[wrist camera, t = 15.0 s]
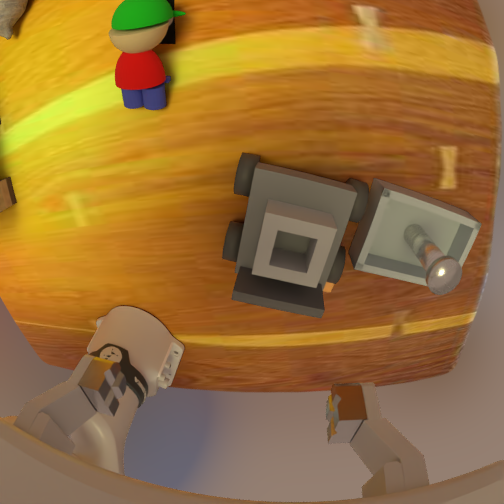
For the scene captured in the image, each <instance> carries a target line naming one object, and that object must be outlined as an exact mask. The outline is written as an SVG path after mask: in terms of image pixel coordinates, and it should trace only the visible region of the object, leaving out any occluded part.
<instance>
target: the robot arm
mask: <svg viewBox="0 0 504 504" xmlns="http://www.w3.org/2000/svg"><path fill="white" fill-rule="evenodd" d="M96 325H97V328H98V329H97V330H96V332H95V334H94V336H93V338H92V340H91V341H90V343H89V345H88V347H87V351H88V354H86V355H84V356H83V357H82V359H81V360H80V362H79V364H78V365H77V367H76V368H75V370H74V372H73V373H72V375H71V376H70V378H69V380H68V381H67V382H66V381H64V382H62V383H60V384H59V385H57V386H55V387H53V388H52V389H50V390H48V391H46V392H45V393H43V394H41V395H39V396H38V397H36V398H34V399H33V400H31V401H29V402H27V403H26V404H25V405H24V407H23V409H22V410H21V412H20V414H19V415H18V416H8V417H4V418H1V417H0V504H504V460H500V461H497V462H495V463H492V464H490V465H487V466H485V467H482V468H480V469H477V470H474V471H472V472H469V473H466V474H463V475H460V476H457V477H454V478H451V479H448V480H445V481H442V482H438V483H434V484H431V485H429V479H428V474H427V469H426V464H425V459H424V455H423V454H422V453H421V452H420V451H419V450H418V449H417V448H416V447H414V446H413V445H412V444H411V443H410V442H409V441H408V440H407V439H406V438H405V437H404V436H403V435H402V434H401V433H400V432H399V431H398V430H397V429H396V428H395V427H394V426H393V425H392V424H391V423H390V422H389V421H388V420H387V419H386V418H382V416H381V411H380V407H379V402H378V397H377V393H376V388H375V385H374V383H372V382H371V383H344V384H333V385H332V388H331V395H330V396H329V397H328V400H327V405H326V419H327V420H328V421H329V422H330V423H329V426H328V428H327V435H328V444H332V443H350V445H351V447H352V448H353V449H354V451H355V452H356V453H357V455H358V456H359V457H360V459H361V460H362V461H363V462H364V464H365V465H366V466H367V468H368V469H369V470H370V472H371V473H372V474H373V477H372V478H371V479H370V480H368V481H367V483H365V484H364V485H363V486H362V495H363V498H358V499H348V500H339V501H323V502H266V501H265V502H264V501H250V500H240V499H239V500H238V499H230V498H222V497H214V496H208V495H202V494H196V493H191V492H186V491H181V490H176V489H172V488H167V487H163V486H159V485H155V484H151V483H147V482H144V481H140V480H137V479H133V478H130V477H127V476H125V474H124V463H123V457H124V446H125V440H126V437H127V434H128V431H129V428H130V425H131V423H132V420H133V418H134V415H135V412H136V410H137V408H139V407H140V406H141V404H143V402H144V401H145V398H146V397H152V396H155V395H156V393H157V391H158V389H159V386H160V387H162V388H164V389H167V386H170V385H171V384H172V382H173V379H174V376H175V374H176V371H177V368H178V365H179V363H180V360H181V357H182V355H183V352H184V349H185V347H184V345H183V344H182V343H181V342H179V341H178V340H177V339H175V338H174V337H173V336H172V335H171V334H170V333H169V331H168V330H167V329H166V327H165V326H164V325H163V324H162V323H161V322H160V321H159V320H158V319H156V318H155V317H154V316H152V315H150V314H149V313H147V312H145V311H143V310H141V309H138V308H134V307H130V306H119V307H116V308H113V309H112V310H111V311H110V312H109V313H108V314H107V315H106V316H103V317H100V318H98V320H97V321H96ZM69 435H71V440H72V441H71V440H70V439H69V438H68V437H67V436H69Z"/></svg>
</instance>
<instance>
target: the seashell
mask: <svg viewBox="0 0 504 504" xmlns="http://www.w3.org/2000/svg"><path fill="white" fill-rule="evenodd" d="M27 2H28V0H0V36H2V37H5V38H6V39H7V40H8V39H10V38H11V36H12V35H13V29H12V27H13V26H14V24H15V23H16V22H17V20H18V19H19V18H20V17H21V16H22V15H23V13H24V11H25V9H26V5H27Z"/></svg>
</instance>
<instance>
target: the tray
mask: <svg viewBox="0 0 504 504" xmlns="http://www.w3.org/2000/svg"><path fill="white" fill-rule="evenodd" d="M411 224H418V225H420V226H421V227H422V228H423V230H424V231H425V232H426V233H427V234H428V235H429V237H430V238H431V239H432V240H433V241H434V243H435V244H436V245H437V246H438V247H439V249H440V250H441V251H442V252H443V254H444V255H445V256H452V257H454V258H455V259H456V260H457V262H458V263H459V264H460V266H461V267H462V265H463V263H464V261H465V259H466V257H467V255H468V253H469V251H470V249H471V247H472V245H473V242H474V240H475V238H476V236H477V233H478V231H479V229H480V226H481V223H480V222H479V221H477V220H476V219H475V218H474V217H473V216H471V215H470V214H469V213H468V212H467V211H464V210H462V209H459V208H457V207H454V206H452V205H449V204H447V203H444V202H442V201H439V200H437V199H434V198H431V197H429V196H426V195H423V194H420V193H418V192H415V191H412V190H409V189H406V188H404V187H401V186H398V185H395V184H392V183H389V182H386V181H382V180H379V179H376V178H374V180H373V183H372V186H371V189H370V192H369V197H368V203H367V207H366V210H365V213H364V215H363V217H362V219H361V220H360V222H359V225H358V228H357V230H356V233H355V236H354V239H353V241H352V244H351V247H350V250H349V255H350V258H351V261H352V264H353V267H354V269H356V270H360V271H364V272H369V273H373V274H378V275H382V276H386V277H391V278H395V279H399V280H404V281H408V282H412V283H416V284H421V285H425V286H428V285H427V284H426V280H425V275H426V271H425V269H424V268H423V266H422V265H421V263H420V261H419V260H418V258H417V257H416V255H415V254H414V252H413V251H412V249H411V248H410V247H409V245H408V244H407V242H406V241H405V239H404V231H405V229H406V228H407V227H408V226H409V225H411Z"/></svg>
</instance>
